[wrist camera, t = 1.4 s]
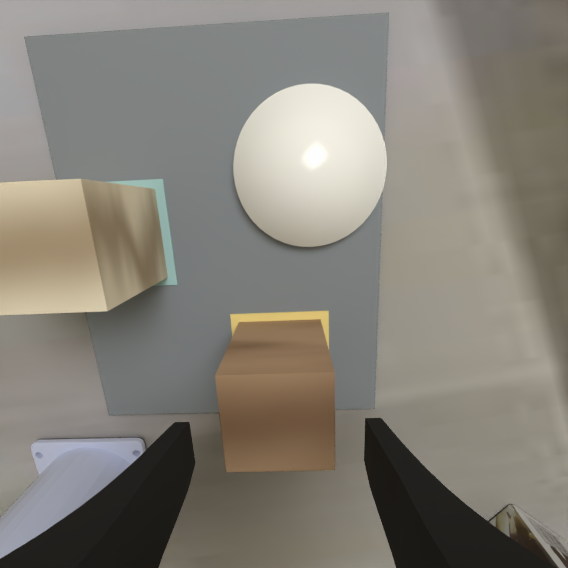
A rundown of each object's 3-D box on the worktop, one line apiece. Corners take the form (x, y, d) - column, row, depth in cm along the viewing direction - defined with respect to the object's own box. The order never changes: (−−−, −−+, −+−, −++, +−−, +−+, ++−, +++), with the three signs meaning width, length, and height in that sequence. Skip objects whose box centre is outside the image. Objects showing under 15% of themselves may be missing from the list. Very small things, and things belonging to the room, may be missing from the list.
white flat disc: (380, 242, 17) (383, 243, 16) (241, 248, 17) (239, 249, 17) (386, 83, 15) (390, 78, 14) (229, 92, 15) (226, 88, 15)
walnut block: (321, 391, 19) (334, 470, 14) (245, 393, 19) (226, 472, 14) (320, 319, 18) (334, 372, 12) (238, 322, 18) (215, 375, 12)
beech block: (167, 277, 18) (107, 311, 12) (85, 280, 18) (-14, 315, 12) (155, 188, 16) (80, 178, 11) (66, 193, 17) (-55, 185, 11)
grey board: (373, 404, 20) (374, 409, 20) (112, 411, 21) (107, 416, 20) (386, 17, 15) (389, 11, 14) (30, 41, 15) (22, 35, 15)
